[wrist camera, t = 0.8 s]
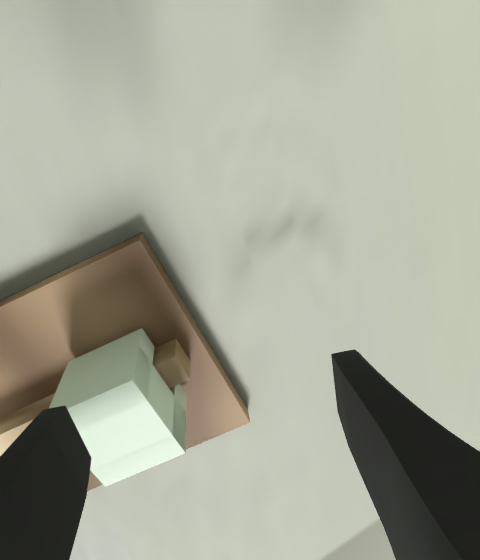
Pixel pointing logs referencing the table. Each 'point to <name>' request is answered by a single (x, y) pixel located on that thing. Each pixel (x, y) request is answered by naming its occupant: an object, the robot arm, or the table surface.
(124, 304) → the track board
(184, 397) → the block
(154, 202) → the table surface
